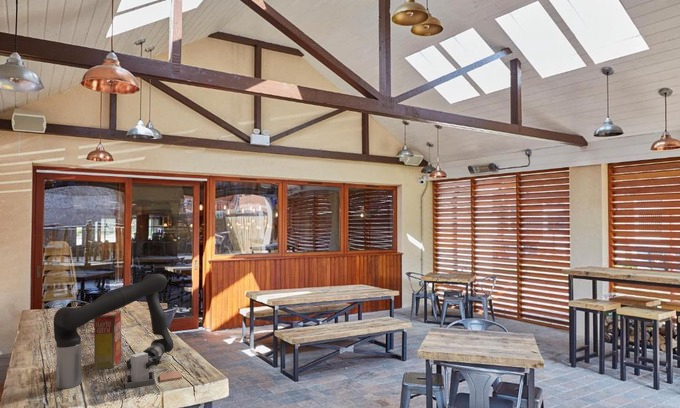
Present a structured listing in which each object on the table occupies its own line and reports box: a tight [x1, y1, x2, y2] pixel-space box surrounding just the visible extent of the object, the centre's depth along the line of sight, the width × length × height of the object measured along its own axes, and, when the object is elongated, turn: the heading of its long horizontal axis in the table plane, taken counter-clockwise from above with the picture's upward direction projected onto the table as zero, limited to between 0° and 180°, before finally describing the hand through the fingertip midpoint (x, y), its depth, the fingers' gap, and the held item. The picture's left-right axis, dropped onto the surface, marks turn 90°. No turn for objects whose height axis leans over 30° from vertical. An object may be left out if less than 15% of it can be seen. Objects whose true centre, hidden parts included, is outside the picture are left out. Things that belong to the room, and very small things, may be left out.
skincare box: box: [130, 351, 150, 382], centre depth 206 cm, size 6×4×12 cm
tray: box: [124, 371, 156, 389], centre depth 206 cm, size 12×12×2 cm
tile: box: [158, 370, 183, 383], centre depth 210 cm, size 9×9×1 cm
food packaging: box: [93, 310, 122, 370], centre depth 232 cm, size 13×9×25 cm
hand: (137, 366), depth 203 cm, fingers closed on skincare box, 7 cm apart
